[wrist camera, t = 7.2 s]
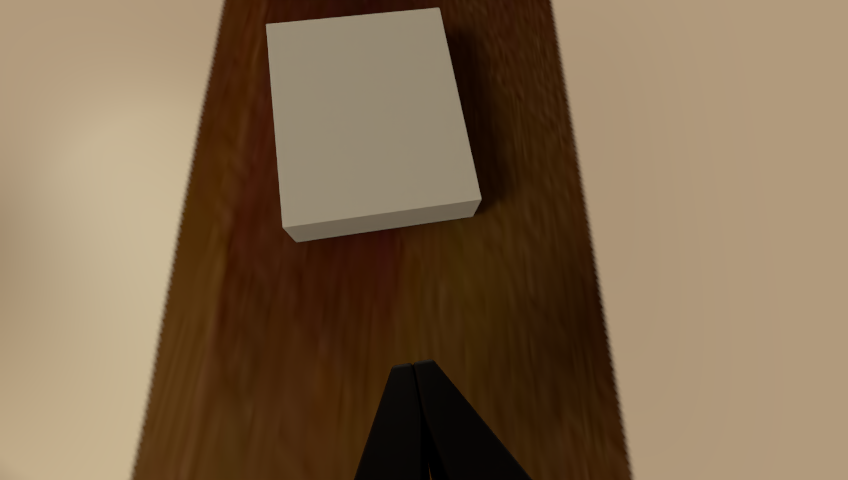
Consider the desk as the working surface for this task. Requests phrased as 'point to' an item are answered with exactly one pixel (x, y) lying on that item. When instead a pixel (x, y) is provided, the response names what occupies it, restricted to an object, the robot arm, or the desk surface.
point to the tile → (368, 125)
